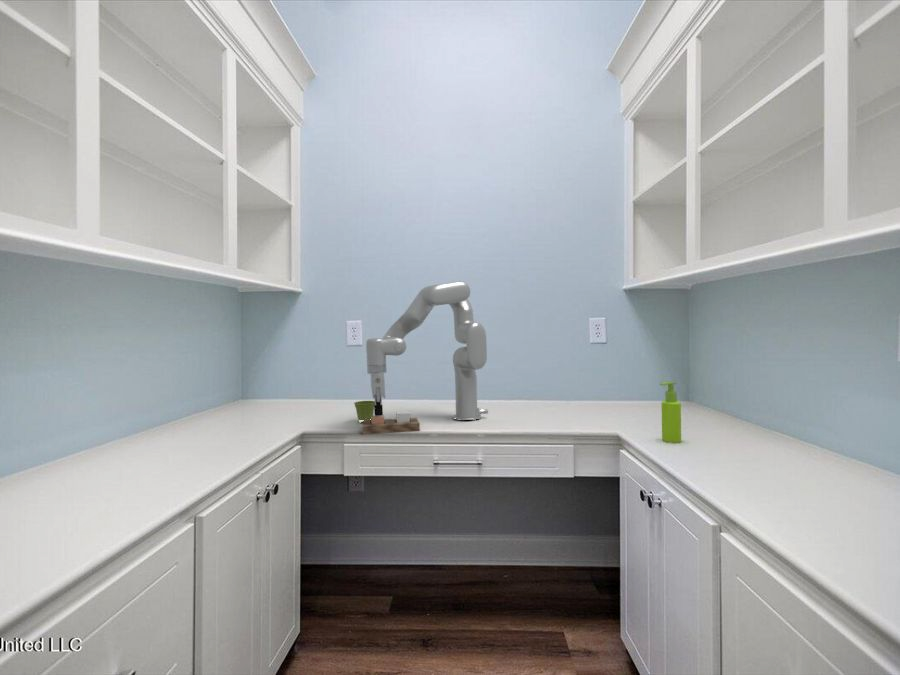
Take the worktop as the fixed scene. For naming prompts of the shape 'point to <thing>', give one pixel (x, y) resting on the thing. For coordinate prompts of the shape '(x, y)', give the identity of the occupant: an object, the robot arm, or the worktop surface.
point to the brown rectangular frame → (390, 426)
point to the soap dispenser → (671, 415)
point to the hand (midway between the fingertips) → (378, 415)
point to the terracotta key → (377, 419)
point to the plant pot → (364, 409)
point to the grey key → (402, 417)
